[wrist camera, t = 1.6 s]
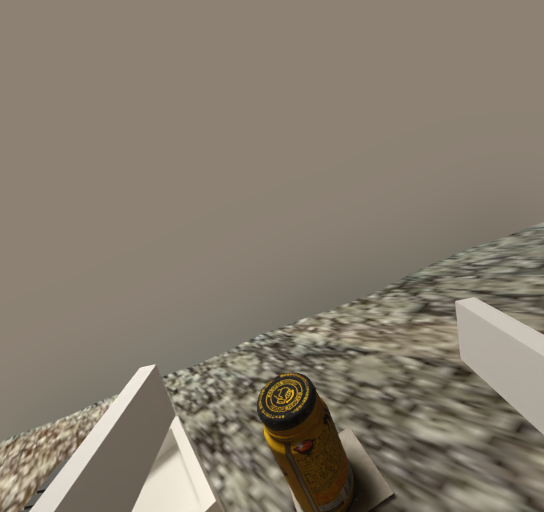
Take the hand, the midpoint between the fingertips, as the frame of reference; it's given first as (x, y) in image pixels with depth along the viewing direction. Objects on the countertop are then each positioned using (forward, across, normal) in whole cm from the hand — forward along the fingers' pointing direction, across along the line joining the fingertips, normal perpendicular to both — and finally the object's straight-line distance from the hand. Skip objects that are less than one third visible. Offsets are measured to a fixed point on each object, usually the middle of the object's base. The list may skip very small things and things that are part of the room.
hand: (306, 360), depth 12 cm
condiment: (+10, -1, -21) cm, 24 cm away
